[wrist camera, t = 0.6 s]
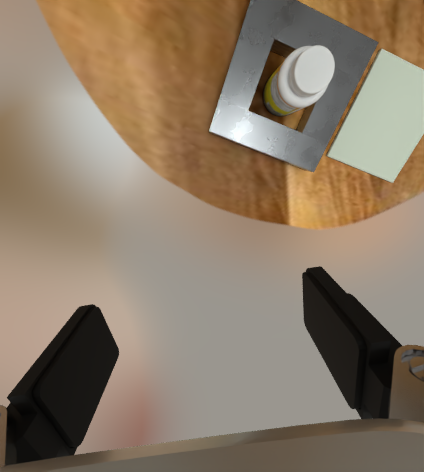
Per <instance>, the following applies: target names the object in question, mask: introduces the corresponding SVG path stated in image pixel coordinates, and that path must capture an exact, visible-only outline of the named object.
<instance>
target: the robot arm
mask: <svg viewBox="0 0 424 472" xmlns="http://www.w3.org/2000/svg"><path fill="white" fill-rule="evenodd" d="M302 278H303V307H304V323H305V326H306V328H307V330H308V332H309V334H310V336H311V338H312V339H313V341H314V343H315V345H316V347H317V348H318V350H319V352H320V354H321V355H322V358H323V359H324V361H325V363H326V365H327V367H328V368H329V370H330V372H331V374H332V376H333V377H334V380H335V381H336V383H337V385H338V387H339V389H340V390H341V392H342V394H343V396H344V398H345V400H346V401H347V403H348V405H349V406H350V408H352V409H356V410H357V412H358V413H359V415H360V417H361V419H357V420H344V421H335V422H326V423H316V424H307V425H298V426H290V427H282V428H274V429H266V430H258V431H251V432H242V433H234V434H227V435H219V436H211V437H204V438H196V439H189V440H181V441H173V442H166V443H159V444H151V445H144V446H136V447H129V448H122V449H115V450H107V451H100V452H93V453H86V454H79V455H74V454H75V451H76V449H77V447H78V446H79V445H80V444H81V443H82V441H83V439H84V437H85V435H86V432H87V430H88V428H89V425H90V423H91V420H92V418H93V416H94V413H95V411H96V409H97V406H98V404H99V402H100V399H101V397H102V394H103V392H104V390H105V387H106V385H107V382H108V380H109V378H110V375H111V373H112V371H113V368H114V366H115V364H116V361H117V359H118V356H119V349H118V347H117V345H116V342H115V340H114V338H113V336H112V334H111V332H110V330H109V328H108V325H107V323H106V321H105V319H104V317H103V314H102V312H101V310H100V309H99V307H96V306H95V305H93V304H92V305H86V306H81V307H79V308H78V309H77V310H76V311H75V313H74V314H73V315H72V316H71V318H70V319H69V320H68V321H67V323H66V324H65V325H64V326H63V328H62V329H61V330H60V332H59V333H58V334H57V335H56V337H55V338H54V339H53V340H52V341H51V343H50V344H49V345H48V346H47V348H46V349H45V350H44V351H43V353H42V354H41V355H40V357H39V358H38V359H37V360H36V361H35V363H34V364H33V365H32V366H31V368H30V369H29V370H28V372H27V373H26V374H25V375H24V377H23V378H22V379H21V380H20V382H19V383H18V384H17V385H16V387H15V388H14V389H13V390H12V392H11V393H10V394H9V395H8V397H7V398H8V400H9V401H10V402H11V403H10V404H9V406H8V407H7V408H6V407H5V406H3V405H0V472H424V347H422V346H418V345H405V346H402V345H401V344H400V343H399V342H398V341H397V340H396V339H395V338H394V337H393V336H392V335H391V334H390V333H389V332H388V331H387V330H386V329H385V328H384V327H383V326H382V325H381V324H380V323H379V322H378V321H377V319H376V318H375V317H373V315H372V314H371V313H370V312H369V311H368V310H367V309H366V308H365V307H364V306H363V305H362V304H361V303H360V302H359V301H358V300H357V299H356V298H355V297H354V296H353V295H351V294H347V293H346V292H345V291H344V290H343V289H342V288H341V287H340V286H339V285H338V284H337V283H336V282H335V281H334V280H333V279H332V278H331V276H330V275H329V274H328V273H327V272H326V271H325V270H324V269H323V268H322V267H313V268H308V269H307V270H306V272H304V273H303V275H302ZM372 418H373V419H372Z"/></svg>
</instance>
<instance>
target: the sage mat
mask: <svg viewBox="0 0 424 472" xmlns="http://www.w3.org/2000/svg"><path fill="white" fill-rule="evenodd" d="M423 134H424V70H423V69H421V68H419V67H417V66H415V65H413V64H411V63H409V62H407V61H405V60H403V59H401V58H399V57H397V56H395V55H393V54H391V53H389V52H388V51H386V50H384V49H380V50H379V51H378V53H377V55H376V57H375V59H374V61H373V63H372V65H371V67H370V69H369V71H368V73H367V75H366V77H365V79H364V81H363V83H362V85H361V87H360V89H359V91H358V93H357V95H356V97H355V99H354V101H353V103H352V105H351V107H350V109H349V111H348V113H347V115H346V117H345V119H344V121H343V123H342V125H341V127H340V129H339V131H338V133H337V135H336V137H335V139H334V141H333V143H332V145H331V147H330V149H329V151H328V153H327V155H326V156H328V157H330V158H332V159H335V160H337V161H340V162H342V163H345V164H347V165H350V166H352V167H354V168H357V169H359V170H362V171H364V172H367V173H369V174H371V175H374V176H376V177H379V178H381V179H384V180H386V181H389V182H392V183H393V182H394V180H395V178H396V177H397V175H398V174H399V172H400V171H401V169H402V167H403V166H404V164H405V163H406V161H407V159H408V158H409V156H410V155H411V153H412V151H413V150H414V148H415V147H416V145H417V144H418V142H419V140H420V139H421V137H422V136H423Z"/></svg>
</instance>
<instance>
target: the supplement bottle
mask: <svg viewBox="0 0 424 472" xmlns="http://www.w3.org/2000/svg"><path fill="white" fill-rule="evenodd" d="M334 69H335V62H334V58H333V55H332V53H331V52H330V51H329V49H327V48H326V47H324V46H320V45H316V46H303V47H300V48H298V49H296V50H294V51H293V52H292V53H291V54H290V55H289V56H288V57H287V58H286V59H285V60H284V61H283V63H282V64H281V65H280V66H279V67H278V68H277V70H276V71H275V72H274V73H273V74H272V75H271V77H270V78H269V79H268V81H267V83H266V85H265V88H264V93H263V98H264V103H265V106H266V108H267V109H268V110H269V111H270V112H271V113H272V114H274V115H276V116H286V115H289V114H291V113H294V112H296V111H298V110H300V109H303V108H305V107H307V106H310V105H312V104H313V103H315V102H316V101H317V100H318V99H319V98H320V97H321V96H322V95H323V94H324V92H325V91H326V89H327V87H328V84H329V83H330V81H331V79H332V77H333V74H334Z"/></svg>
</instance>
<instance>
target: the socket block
mask: <svg viewBox="0 0 424 472" xmlns="http://www.w3.org/2000/svg"><path fill="white" fill-rule="evenodd" d="M377 44H378V42H377V41H375V40H373V39H371V38H369V37H367V36H365V35H363V34H361V33H359V32H357V31H355V30H353V29H351V28H349V27H348V26H346V25H344V24H342V23H340V22H338V21H336V20H334V19H332V18H330V17H328V16H326V15H324V14H322V13H320V12H318V11H316V10H314V9H312V8H311V7H309V6H307V5H305V4H303V3H301V2H299V1H297V0H251V1H250V4H249V7H248V10H247V14H246V17H245V20H244V23H243V26H242V29H241V32H240V36H239V39H238V42H237V45H236V48H235V51H234V54H233V58H232V61H231V64H230V67H229V70H228V73H227V76H226V80H225V83H224V86H223V89H222V92H221V95H220V98H219V102H218V105H217V108H216V111H215V114H214V117H213V120H212V124H211V127H210V130H209V133H211V134H214V135H216V136H219V137H221V138H224V139H226V140H229V141H231V142H234V143H236V144H239V145H242V146H244V147H247V148H249V149H252V150H254V151H257V152H259V153H262V154H264V155H267V156H270V157H272V158H275V159H277V160H280V161H282V162H285V163H287V164H290V165H293V166H295V167H298V168H300V169H303V170H305V171H310V172H314V171H315V169H316V167H317V165H318V163H319V161H320V159H321V157H322V155H323V153H324V151H325V149H326V147H327V145H328V143H329V141H330V139H331V137H332V135H333V133H334V131H335V129H336V127H337V125H338V123H339V121H340V119H341V117H342V115H343V113H344V111H345V108H346V106H347V104H348V102H349V100H350V98H351V96H352V94H353V92H354V90H355V88H356V86H357V84H358V82H359V80H360V78H361V76H362V74H363V72H364V70H365V68H366V66H367V64H368V62H369V60H370V58H371V56H372V54H373V52H374V50H375V48H376V46H377ZM316 45H320V46H324V47H326V48H327V49H329V51H330V52H331V53H332V55H333V58H334V62H335V69H334V74H333V77H332V79H331V81H330V83H329V84H328V87H327V89H326V91H325V92H324V94H323V95H322V96H321V97H320V98H319V99H318V100H317V101H316V102H315V103H313V104H312V105H310V106H307V107H306V109H305V111H304V113H303V116H302V118H301V120H300V123H299V125H298V127H297V129H296V130H293V129H291V128H289V127H286V126H284V125H281V124H279V123H277V122H274V121H272V120H269V119H267V118H265V117H262V116H260V115H257V114H255V113H253V112H250V111H248V110H249V107H250V104H251V101H252V99H253V96H254V93H255V90H256V88H257V85H258V82H259V79H260V77H261V74H262V71H263V68H264V66H265V63H266V60H267V57H268V55H269V52H270V50H271V51H273V52H275V53H277V54H279V55H281V56H283V57H285V58H287V57H288V56H289V55H290V54H291V53H292V52H293V51H294V50H296V49H298V48H300V47H303V46H316Z"/></svg>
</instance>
